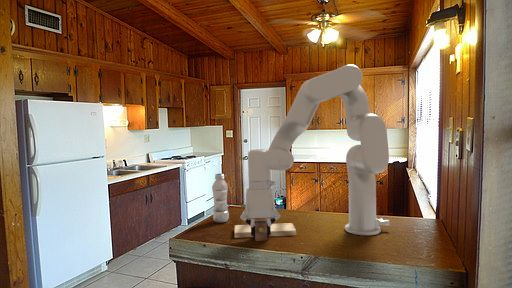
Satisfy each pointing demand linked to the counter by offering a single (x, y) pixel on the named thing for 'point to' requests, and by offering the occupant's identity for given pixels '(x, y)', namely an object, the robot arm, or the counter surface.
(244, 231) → the board
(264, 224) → the brown handled block
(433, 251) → the counter surface
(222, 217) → the plastic bottle
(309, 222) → the counter surface
